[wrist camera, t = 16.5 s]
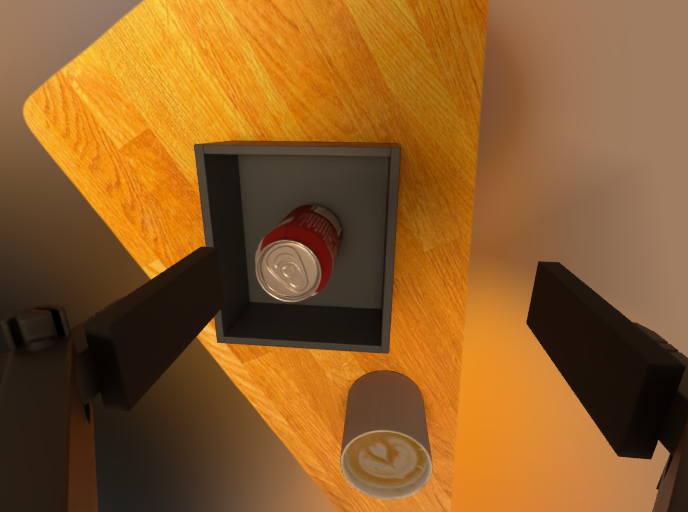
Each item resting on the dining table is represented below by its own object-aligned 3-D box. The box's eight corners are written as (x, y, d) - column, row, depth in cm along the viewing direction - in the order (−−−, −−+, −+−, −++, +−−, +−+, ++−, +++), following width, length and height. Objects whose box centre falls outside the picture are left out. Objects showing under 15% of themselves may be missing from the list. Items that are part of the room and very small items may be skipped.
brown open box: (396, 142, 39) (400, 147, 30) (387, 311, 45) (388, 353, 37) (233, 140, 40) (193, 144, 32) (246, 303, 47) (216, 343, 38)
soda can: (322, 191, 40) (299, 216, 29) (354, 243, 42) (344, 287, 30) (272, 221, 42) (232, 257, 31) (304, 271, 43) (277, 321, 32)
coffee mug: (350, 366, 48) (343, 424, 39) (427, 375, 48) (439, 436, 38) (343, 445, 53) (335, 515, 43) (414, 454, 52) (421, 527, 43)
